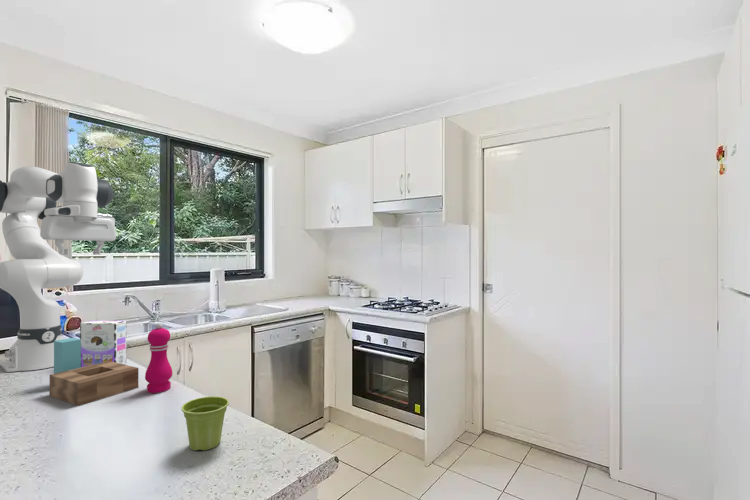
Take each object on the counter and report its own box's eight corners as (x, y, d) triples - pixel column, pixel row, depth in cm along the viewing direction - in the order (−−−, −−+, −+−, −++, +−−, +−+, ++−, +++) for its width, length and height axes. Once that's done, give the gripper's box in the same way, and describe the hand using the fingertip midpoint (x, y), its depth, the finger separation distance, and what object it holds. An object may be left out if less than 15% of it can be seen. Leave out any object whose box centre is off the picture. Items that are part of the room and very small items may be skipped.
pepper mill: (160, 394, 112) (160, 325, 112) (139, 392, 114) (139, 324, 114) (177, 386, 119) (178, 321, 119) (157, 384, 121) (157, 320, 121)
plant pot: (215, 430, 90) (215, 392, 90) (237, 442, 84) (237, 402, 84) (173, 445, 83) (173, 405, 83) (194, 460, 77) (194, 417, 77)
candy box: (127, 364, 142) (127, 320, 142) (115, 369, 136) (115, 323, 136) (92, 363, 143) (92, 319, 143) (79, 368, 137) (79, 322, 138)
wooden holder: (49, 395, 111) (49, 374, 111) (109, 379, 126) (109, 361, 126) (78, 405, 104) (78, 383, 104) (138, 387, 118) (138, 367, 118)
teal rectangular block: (53, 386, 119) (53, 340, 119) (72, 381, 124) (72, 337, 124) (61, 388, 117) (62, 342, 117) (80, 383, 121) (80, 339, 122)
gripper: (109, 215, 136) (109, 254, 136) (37, 209, 118) (37, 254, 118) (120, 214, 133) (119, 254, 133) (47, 208, 115) (47, 254, 115)
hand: (80, 254), depth 125 cm, fingers open, 8 cm apart
